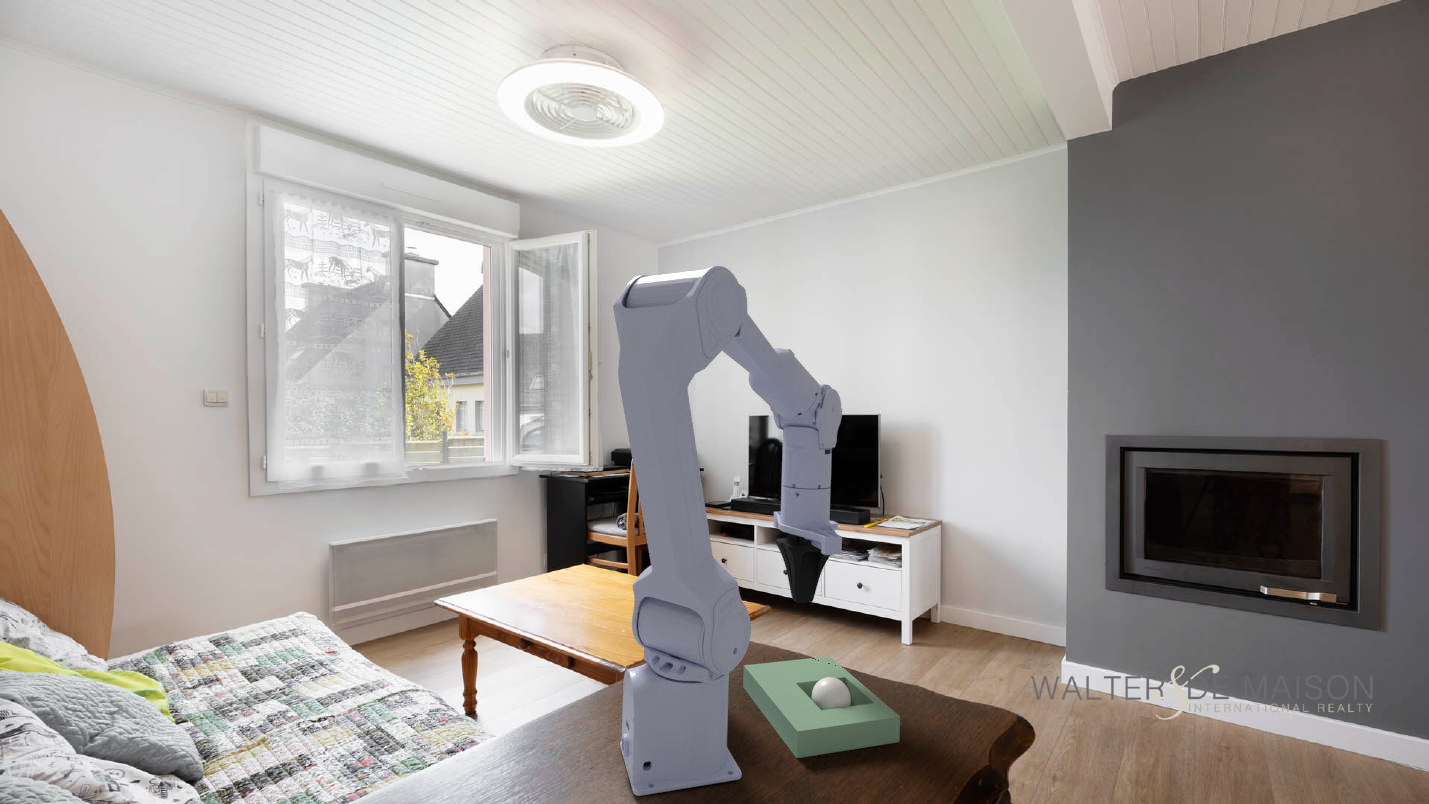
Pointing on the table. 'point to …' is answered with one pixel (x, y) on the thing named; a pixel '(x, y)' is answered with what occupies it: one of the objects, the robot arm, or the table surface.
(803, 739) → the green
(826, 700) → the ball
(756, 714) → the table surface
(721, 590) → the robot arm
